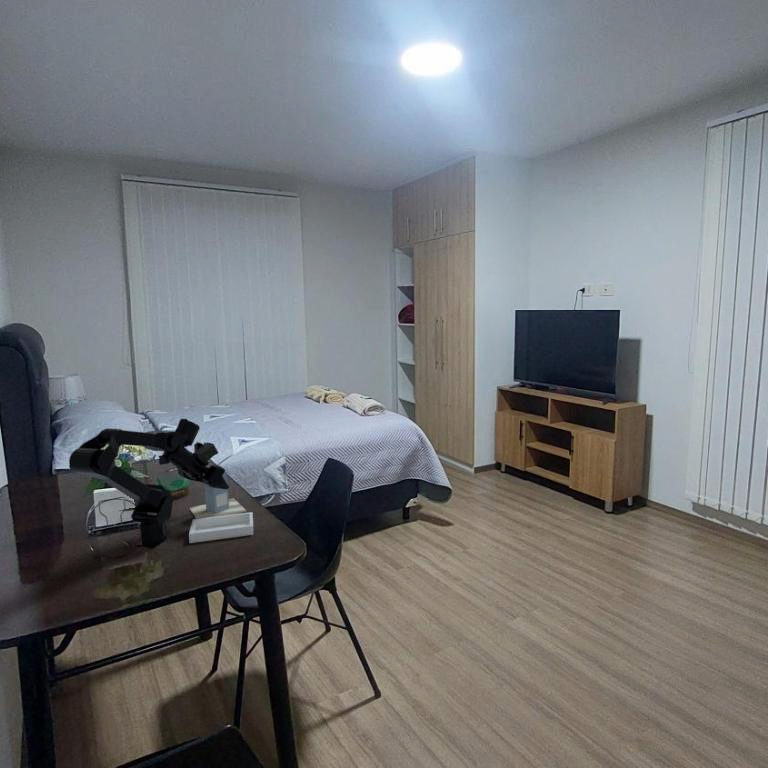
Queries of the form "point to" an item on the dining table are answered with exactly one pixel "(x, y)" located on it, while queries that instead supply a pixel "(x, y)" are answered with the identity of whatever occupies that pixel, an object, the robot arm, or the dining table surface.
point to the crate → (221, 527)
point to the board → (203, 513)
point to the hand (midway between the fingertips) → (219, 485)
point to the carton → (216, 498)
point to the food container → (173, 483)
